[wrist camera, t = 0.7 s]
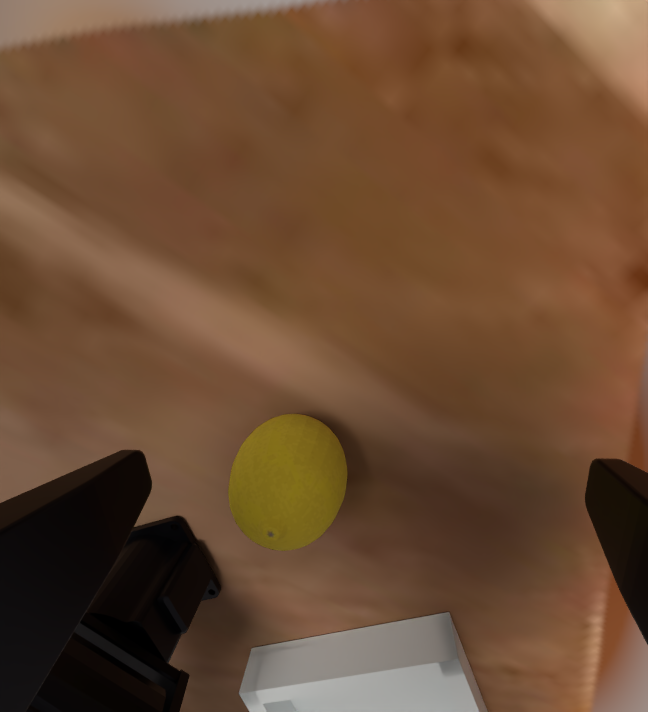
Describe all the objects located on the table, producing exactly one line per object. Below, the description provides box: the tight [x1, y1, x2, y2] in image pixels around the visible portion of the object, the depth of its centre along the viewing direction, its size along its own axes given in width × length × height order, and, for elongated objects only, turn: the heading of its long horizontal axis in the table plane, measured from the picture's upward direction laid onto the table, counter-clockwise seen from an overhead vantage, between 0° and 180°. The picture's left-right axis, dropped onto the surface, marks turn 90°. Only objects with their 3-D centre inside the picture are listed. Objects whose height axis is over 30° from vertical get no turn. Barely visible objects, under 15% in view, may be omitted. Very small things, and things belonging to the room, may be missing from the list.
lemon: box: [228, 414, 347, 551], centre depth 20 cm, size 6×6×8 cm
